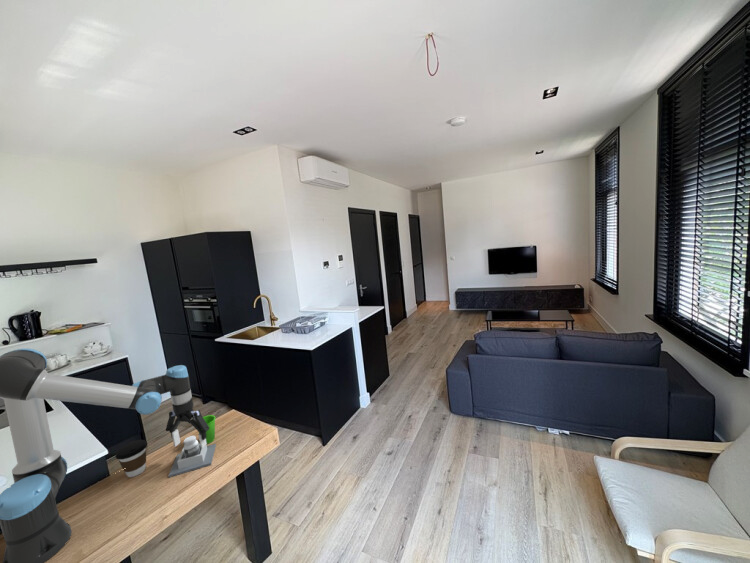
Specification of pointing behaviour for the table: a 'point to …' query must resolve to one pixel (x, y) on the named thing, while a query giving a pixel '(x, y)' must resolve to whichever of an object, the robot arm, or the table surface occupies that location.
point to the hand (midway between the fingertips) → (190, 445)
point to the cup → (210, 428)
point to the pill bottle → (191, 446)
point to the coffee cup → (133, 457)
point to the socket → (193, 461)
